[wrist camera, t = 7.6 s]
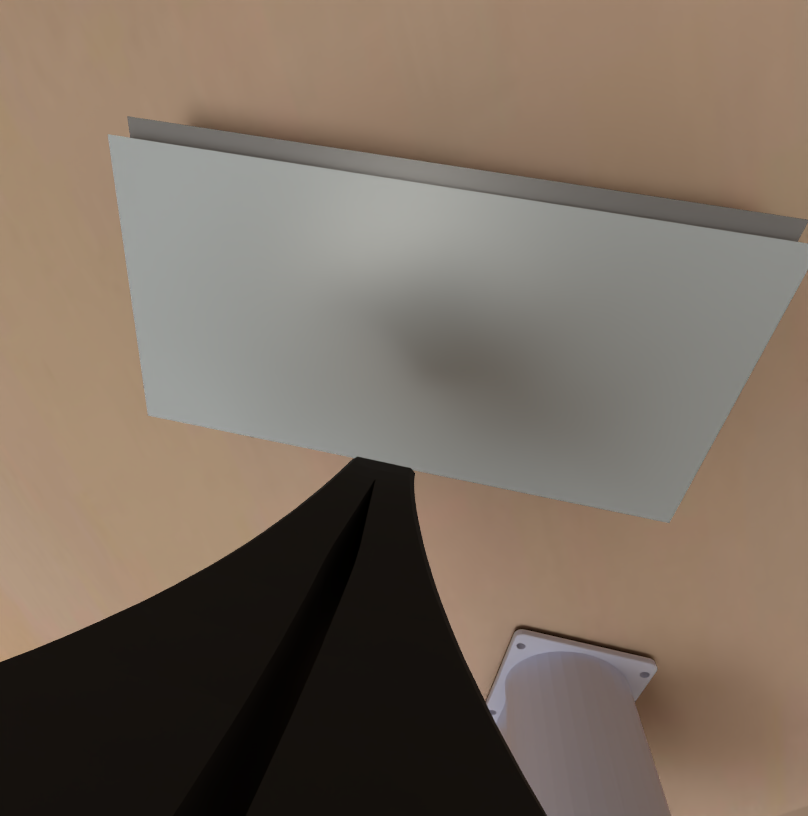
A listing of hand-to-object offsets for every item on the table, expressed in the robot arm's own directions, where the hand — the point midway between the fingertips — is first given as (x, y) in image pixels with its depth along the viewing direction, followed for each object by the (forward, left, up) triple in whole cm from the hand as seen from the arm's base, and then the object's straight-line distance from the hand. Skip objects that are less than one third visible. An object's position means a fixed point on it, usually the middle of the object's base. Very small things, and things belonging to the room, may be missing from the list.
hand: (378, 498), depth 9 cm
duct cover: (+2, 0, -6) cm, 7 cm away
